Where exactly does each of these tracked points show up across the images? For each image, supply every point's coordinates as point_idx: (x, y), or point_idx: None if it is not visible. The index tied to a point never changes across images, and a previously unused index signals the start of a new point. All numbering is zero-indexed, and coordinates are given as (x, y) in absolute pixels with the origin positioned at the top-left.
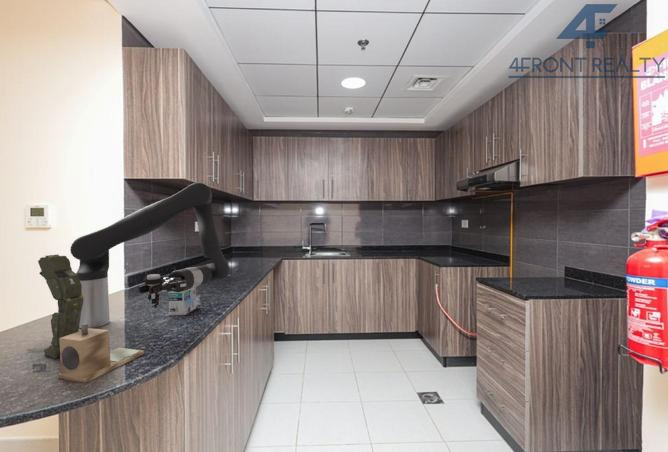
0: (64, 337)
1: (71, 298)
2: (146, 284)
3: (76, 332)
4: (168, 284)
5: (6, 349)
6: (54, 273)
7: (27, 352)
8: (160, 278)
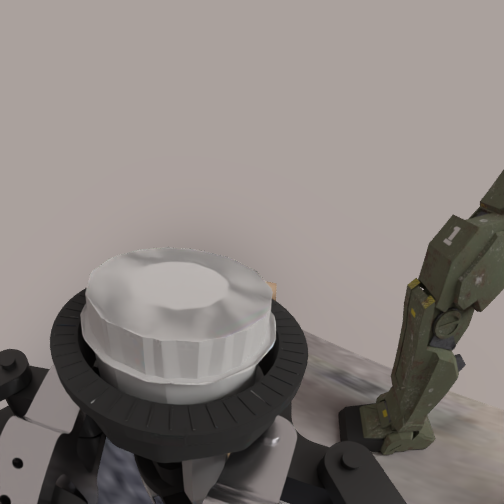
0: (269, 284)
1: (429, 293)
2: (257, 378)
3: (275, 300)
4: (13, 355)
5: (497, 408)
6: (477, 209)
7: (459, 414)
8: (78, 311)
